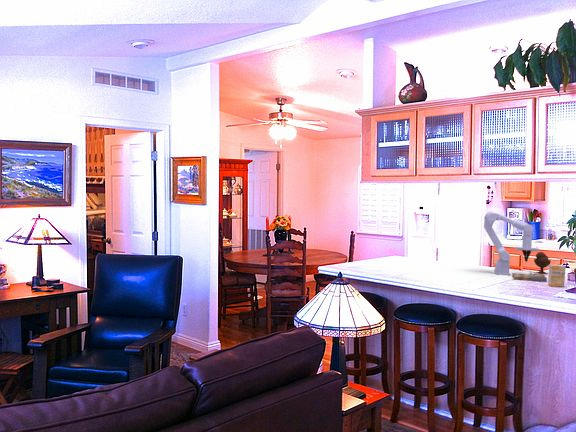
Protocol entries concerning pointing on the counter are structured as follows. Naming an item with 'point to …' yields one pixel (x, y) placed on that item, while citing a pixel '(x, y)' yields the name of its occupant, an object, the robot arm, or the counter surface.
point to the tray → (539, 278)
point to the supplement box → (556, 275)
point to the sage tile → (531, 274)
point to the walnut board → (521, 277)
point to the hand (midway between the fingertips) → (526, 261)
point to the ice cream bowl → (541, 261)
